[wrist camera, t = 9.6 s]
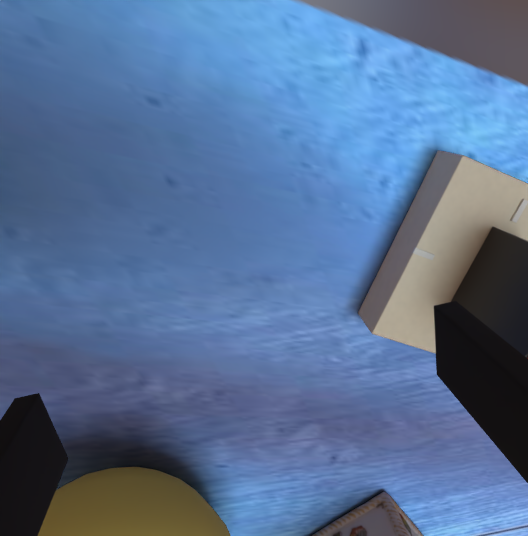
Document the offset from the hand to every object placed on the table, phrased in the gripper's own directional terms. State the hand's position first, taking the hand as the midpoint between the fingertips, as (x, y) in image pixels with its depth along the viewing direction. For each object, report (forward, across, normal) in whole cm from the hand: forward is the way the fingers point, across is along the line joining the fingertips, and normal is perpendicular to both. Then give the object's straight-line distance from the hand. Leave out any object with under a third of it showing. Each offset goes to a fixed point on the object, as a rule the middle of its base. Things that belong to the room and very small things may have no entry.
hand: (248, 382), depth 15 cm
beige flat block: (+15, +15, -4) cm, 22 cm away
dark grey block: (+12, +15, -4) cm, 20 cm away
